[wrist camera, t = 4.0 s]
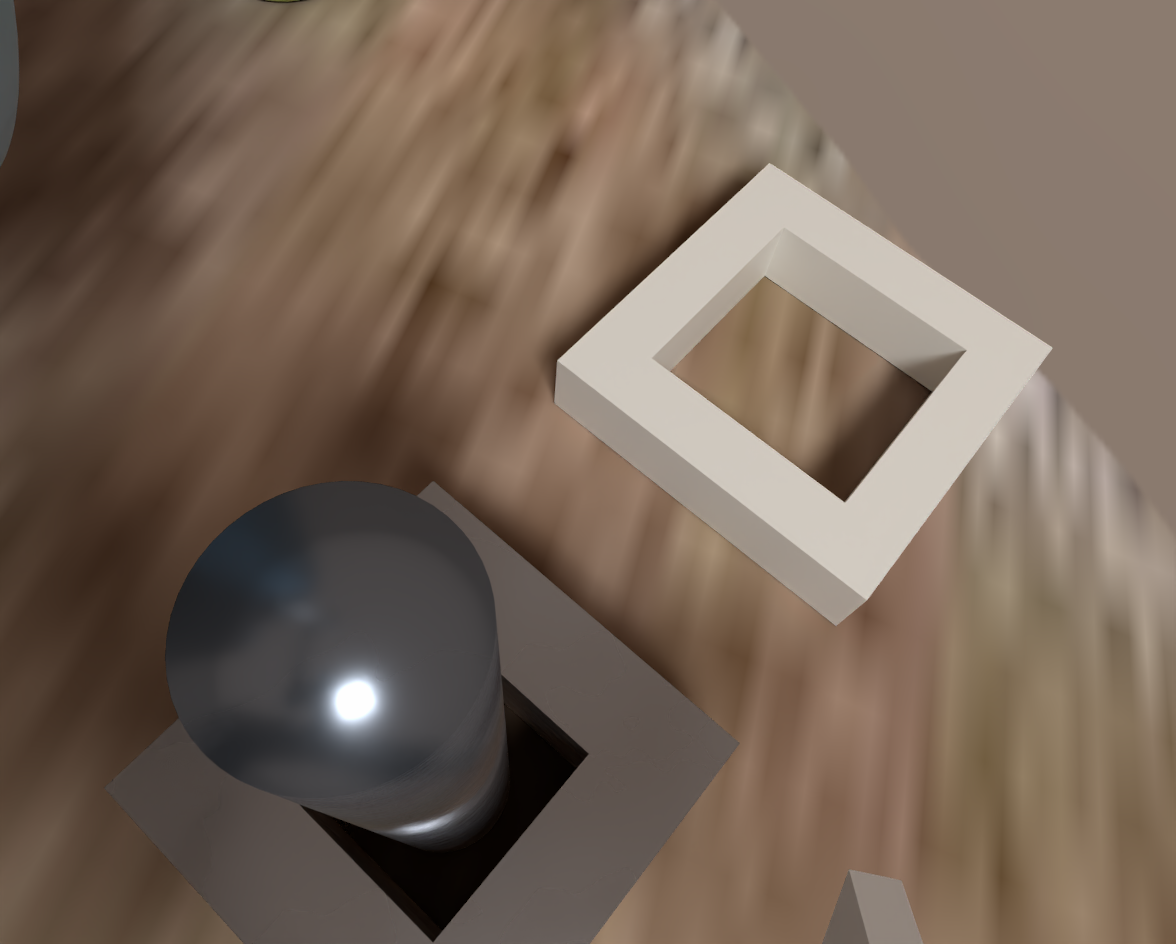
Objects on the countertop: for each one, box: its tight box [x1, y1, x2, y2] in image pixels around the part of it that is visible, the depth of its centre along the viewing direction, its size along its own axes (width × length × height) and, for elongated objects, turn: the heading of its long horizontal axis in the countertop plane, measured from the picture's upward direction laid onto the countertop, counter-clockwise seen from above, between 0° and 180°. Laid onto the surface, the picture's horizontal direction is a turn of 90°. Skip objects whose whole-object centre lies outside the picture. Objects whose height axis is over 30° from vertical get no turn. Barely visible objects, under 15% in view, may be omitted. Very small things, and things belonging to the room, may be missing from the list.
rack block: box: [554, 163, 1052, 626], centre depth 27 cm, size 11×11×2 cm
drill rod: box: [165, 481, 510, 853], centre depth 16 cm, size 3×3×15 cm
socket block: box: [104, 481, 740, 944], centre depth 21 cm, size 10×10×4 cm
